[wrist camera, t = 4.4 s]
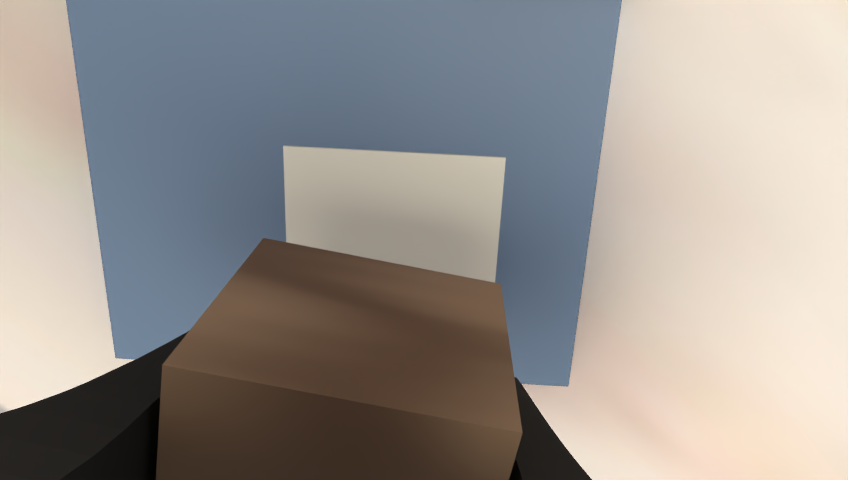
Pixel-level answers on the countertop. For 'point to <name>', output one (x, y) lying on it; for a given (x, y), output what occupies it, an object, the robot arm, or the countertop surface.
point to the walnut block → (341, 375)
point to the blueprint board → (345, 148)
